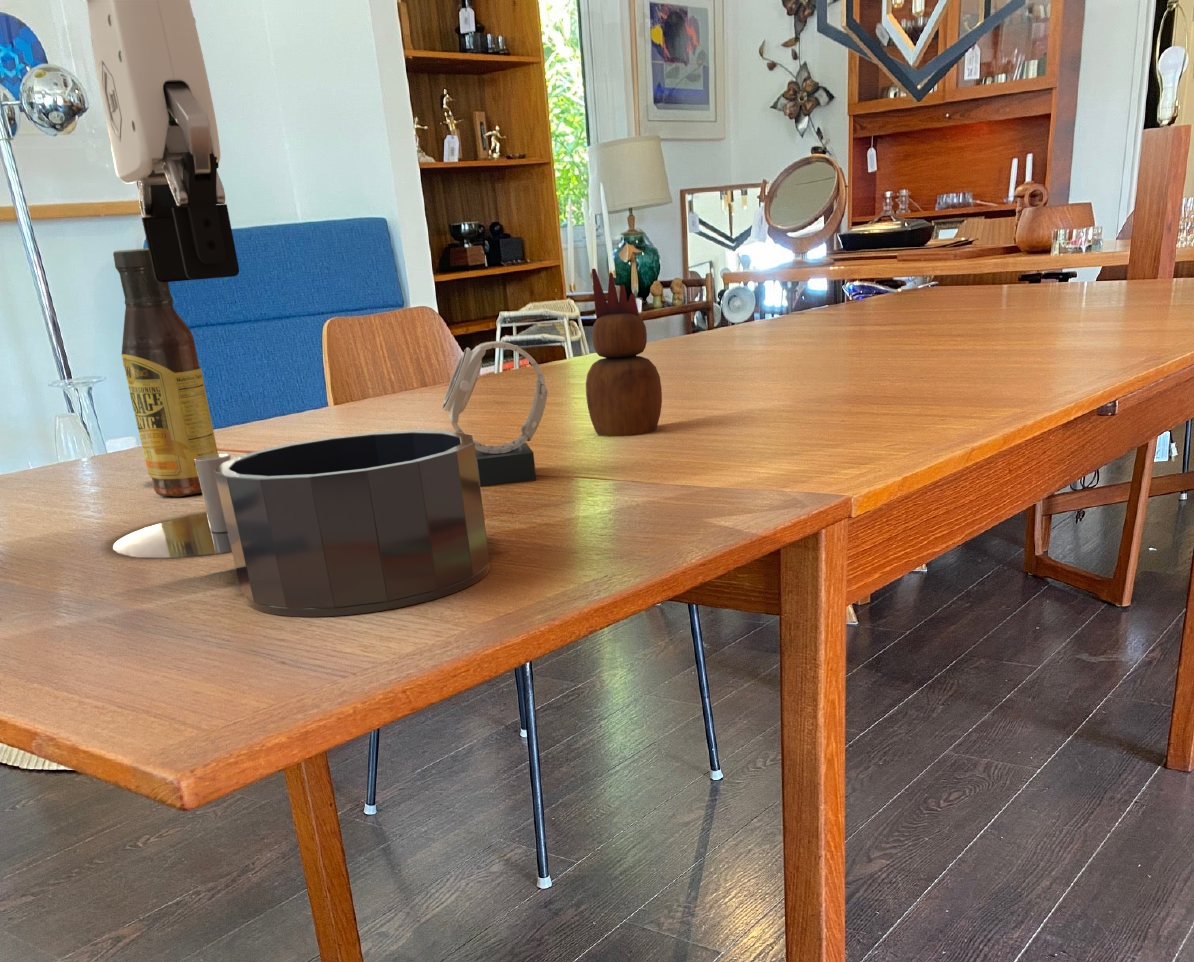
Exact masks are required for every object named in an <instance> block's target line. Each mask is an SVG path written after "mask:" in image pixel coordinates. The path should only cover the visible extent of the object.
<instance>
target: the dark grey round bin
mask: <svg viewBox="0 0 1194 962" xmlns="http://www.w3.org/2000/svg"><path fill="white" fill-rule="evenodd" d="M474 441H475V439H474V436H473V435H472V434H468V433H465V434H463V433H458V432H456V431H452V430H421V429H420V430H401V431H398V430H397V431H382V432H371V433H370V432H369V433H361V434H352V435H351V434H350V435H342V436H333V437H325V438H320V439H314V440H306V441H302V442H295V443H288V444H283V445H279V446H275V447H270V448H266V449H261V450H256V451H253V452H249V453H246V454H243V455H241V456H240V455H239V456H238V457H234V458H231V460H229V461H226V462H223V463H222V464H221V465H220V466H219V467H218V468H217V469H216V470H215V471H214V473H215V477H216V482H217V486H218V491H219V495H220V500H221V504H222V509H223V513H224V518H225V522H226V527H227V531H228V536H229V540H230V545H231V549H232V552H231V553H232V558H233V563H234V567H235V572H236V575H237V579H238V584H239V589H240V593H241V594H243V595H244V600H245V603H246V604H247V605H248V607H250V608H252V609H254V610H256V611H260V612H262V613H267V614H270V615H277V616H285V617H299V618H301V617H302V618H304V617H305V618H307V617H308V618H315V617H316V618H320V617H323V618H324V617H339V616H340V617H341V616H351V615H352V616H353V615H362V614H363V615H364V614H370V613H377V612H383V611H388V610H394V609H395V610H396V609H399V608H404V607H409V606H415V605H418V604H422V603H426V602H430V601H433V600H436V599H441V598H443V597H447V596H450V595H452V594H455V593H457V592H461V591H462V590H465V589H467V588H469V587H471V586H472V585H474V584H476V583H478V582H479V581H481V580H482V579H483V578H484V577H485V576H486V575H488V572H490V570H491V569H490V567H491V564H490V562H491V561H490V554H489V553H490V551H489V545H488V544H489V543H488V537H487V530H486V529H487V527H486V523H485V522H486V521H485V512H484V505H483V497H482V490H481V487H480V481H479V473H478V465H477V458H476V450H475V443H474Z"/></svg>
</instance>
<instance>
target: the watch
mask: <svg viewBox="0 0 1194 962" xmlns="http://www.w3.org/2000/svg"><path fill="white" fill-rule="evenodd" d="M491 349H505V350H511V351H513V352H516V353H518V354H520V355H521V356H523V357H524V358H525V359H526V360H527V361H528V362H529V363H530V364H531V366H532V368H533V370H534V372H535V373H536V377H537V379H536V380H535V390H534V395H533V400H532V403H531V407H530V410H529V412H528V415H527V418H526V420H525V422H524V424H523V425H522V426H521V429H520V431H521V434H520V435H518V438H515V439H513V440H512V441H509V443H504V444H499V445H492V444H491V445H490V444H489V445H486V444H484V443H481V442H476V441H475V440H474V443H475V450H476V458H477V465H478V473H479V481H480V488H483V487H484V488H485V487H486V488H487V487H494V486H501V485H502V486H503V485H511V484H521V483H529V482H535V481H537V473H536V465H535V455H534V451H533V450H532V448H531V447H530V446H529V444H528V443H527V442H530V441H532V439H533V438H534V435H535V434H536V432H537V430H538V427H539V425H540V423H541V421H542V419H543V415H544V412H545V408H546V404H547V399H548V389H547V386H546V385H547V384H546V379H545V375H544V374H543V371H542V369H541V367H540V365H539V363H538V362H537V361H536V360H535V359H534V358H533V356H532V355H531V354H529V353H528V352H527V351H526V350H524V349H523V348H521V347H520V346H518V345H515V344H513V343H510V342H507V341H498V340H496V341H495V340H494V341H485V342H481V343H479V344H478V345H476V346H475V347H474V348H473V349H472V350H471V348H469V347H466V348H465V349H464V351H463V352H462V354H461V356H460V358H459V359H458V362H457V365H456V366H455V369H454V371H453V374H452V375H451V376H452V377H451V379H450V381H449V383H448V387H447V390H446V393H445V397H444V399H443V405H442V411H444V412H448V417H449V421H450V423H451V425H452V427H453V430H454V432H458V433H463V434H466V433H465V432H464V431H463V430H462V429H461V428H460V426H459V425H458V424H459V419H460V415H461V414H462V413H463V412H464V410H465V409H466V407H467V405H468V403H469V401H470V399H471V397H472V394H473V392H474V389H475V387H476V384H477V381H478V379H479V376H480V374H481V373H480V372H481V369H482V364H483V357H484V356H485V355H486V352H487V350H491Z"/></svg>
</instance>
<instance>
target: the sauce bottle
mask: <svg viewBox="0 0 1194 962" xmlns="http://www.w3.org/2000/svg"><path fill="white" fill-rule="evenodd" d="M112 256H113V261H114V268H115V270H116V271H117V272H118V273H119V278H120V283H121V287H122V292H123V297H124V304H125V305H124V306H125V308H124V309H125V310H124V321H123V332H122V344H121V354H120V355H121V359H122V364H123V365H122V366H123V368H124V372H125V377H126V381H127V385H128V390H129V396H130V400H131V405H132V409H133V412H134V417H135V420H136V427H137V430H138V434H139V439H140V443H141V448H142V453H143V456H144V460H145V465H146V468H147V469H146V470H147V474H148V476H149V477H150V478H151V483H152V486H153V491H154V492H155V494H156V495H159V496H162V497H163V496H164V497H167V496H168V497H175V498H178V497H185V496H191V495H197V494H202V490H201V486H200V481H199V477H198V473H197V468H196V464H195V459H196V458H198V457H201V456H206V455H212V454H219V452H218V447H217V442H216V436H215V431H214V426H213V421H212V417H211V412H210V405H209V403H208V402H209V400H208V397H207V391H206V386H205V380H204V376H203V371H202V370H203V369H202V367H201V366H200V364H199V363H200V362H199V357H198V354H197V353H198V352H197V347H196V341H195V338H194V335H193V333H192V331H191V329H190V328H189V326H188V325H187V323H186V322H185V321H184V320H183V318H182V317H181V316H180V315H179V314H178V312H177V311H176V309H175V308H174V297H173V296H172V294H171V289H170V282H163V283H161V282H158V281H157V280H156V279H155V276H154V272H153V267H152V263H151V258H150V254H149V249H148V247H146V248H134V249H118V250H114V251H113V255H112Z"/></svg>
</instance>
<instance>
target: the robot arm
mask: <svg viewBox="0 0 1194 962" xmlns="http://www.w3.org/2000/svg"><path fill="white" fill-rule="evenodd" d="M81 2H86V3H87V15H88V22H89V24H88V25H89V32H90V38H91V44H92V52H93V57H94V64H95V68H96V74H97V80H98V86H99V91H100V97H101V101H102V106H103V111H104V116H105V117H104V118H105V122H106V128H107V132H108V138H109V144H110V148H111V155H112V159H113V166H114V170H115V174H116V176H117V177H118V178H119V179H120V180H121V181H122V182H123V183H124V184H126V185H127V184H134V183H136V187H137V189H138V199H139V201H138V202H139V208H140V212H141V215H142V218H141V221H142V226H143V230H144V236H145V240H146V244H147V248H148V249H149V254H150V258H151V263H152V267H153V272H154V276H155V279H156V280H157V281H158V282H161V283H163V282H168V283H174V282H183V281H184V282H186V281H197V280H209V279H210V280H211V279H220V278H231V277H236V276H238V275H239V273H240V266H239V261H238V257H237V249H236V245H235V241H234V235H233V229H232V225H231V220H230V214H229V208H228V205H227V204H228V203H227V204H226V193H225V188H224V186H223V182H222V180H221V178H220V174H219V171H218V169H219V163H220V161H221V147H220V146H221V145H220V139H219V131H218V126H217V119H216V114H215V108H214V107H215V106H214V103H213V98H212V97H213V96H212V92H211V88H210V84H209V83H210V82H209V79H208V73H207V69H206V64H205V61H204V54H203V51H202V46H201V42H200V37H199V32H198V28H197V24H196V23H197V22H196V18H195V17H194V11H193V9H192V5H191V0H81Z"/></svg>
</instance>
